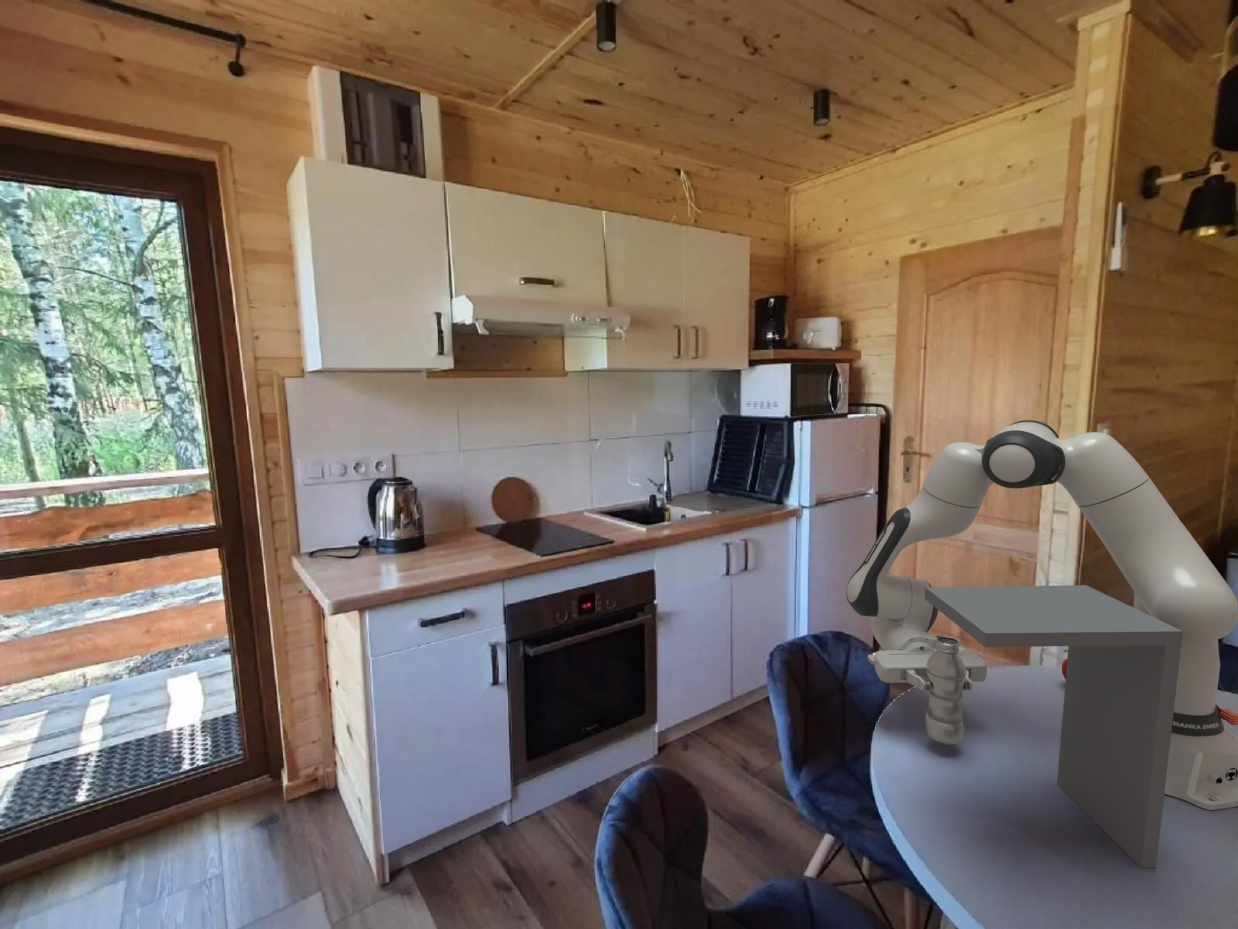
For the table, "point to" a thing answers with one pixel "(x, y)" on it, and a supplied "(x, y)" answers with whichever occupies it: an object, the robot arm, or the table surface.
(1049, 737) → the table surface
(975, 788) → the table surface
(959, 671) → the plastic bottle
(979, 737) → the table surface
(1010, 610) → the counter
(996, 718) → the table surface
